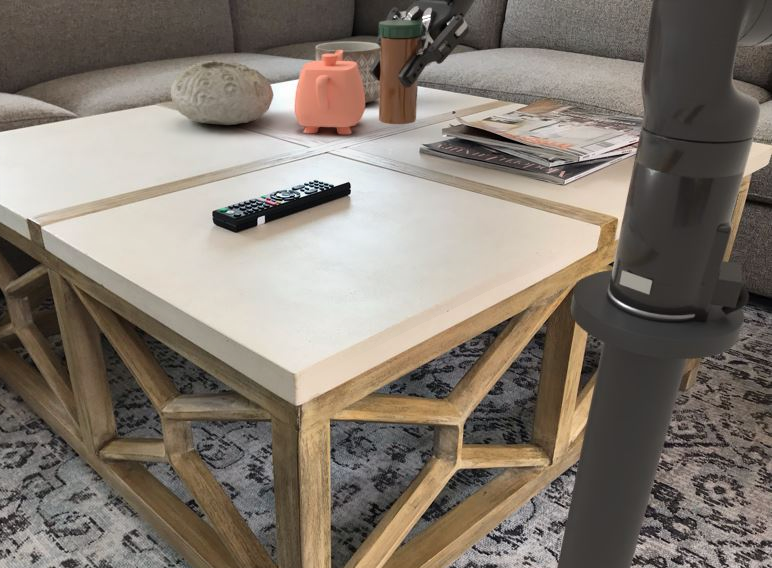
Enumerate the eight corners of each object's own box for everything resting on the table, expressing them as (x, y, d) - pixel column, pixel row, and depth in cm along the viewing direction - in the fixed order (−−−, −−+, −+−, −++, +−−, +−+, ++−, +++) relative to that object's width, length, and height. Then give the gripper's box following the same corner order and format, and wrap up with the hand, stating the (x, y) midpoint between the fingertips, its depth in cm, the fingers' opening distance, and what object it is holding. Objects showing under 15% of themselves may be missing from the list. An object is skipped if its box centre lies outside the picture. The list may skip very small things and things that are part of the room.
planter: (380, 95, 150) (381, 41, 145) (380, 109, 139) (381, 50, 134) (318, 95, 151) (317, 41, 146) (313, 108, 140) (312, 51, 135)
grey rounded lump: (284, 113, 137) (282, 56, 133) (260, 136, 122) (256, 73, 117) (193, 110, 140) (188, 54, 136) (158, 133, 125) (151, 71, 120)
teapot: (357, 142, 118) (358, 64, 112) (285, 140, 120) (282, 62, 114) (371, 115, 135) (372, 45, 129) (307, 113, 137) (306, 44, 131)
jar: (420, 117, 104) (425, 24, 98) (409, 125, 100) (413, 29, 94) (386, 114, 106) (388, 23, 100) (373, 122, 102) (375, 28, 96)
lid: (427, 32, 99) (428, 20, 98) (414, 38, 94) (414, 26, 94) (387, 30, 101) (387, 19, 100) (372, 36, 96) (372, 24, 96)
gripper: (407, -46, 102) (340, 55, 102) (486, -44, 92) (411, 69, 92) (433, -7, 107) (369, 89, 107) (509, 0, 97) (439, 106, 97)
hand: (389, 79), depth 100 cm, fingers closed on jar, 5 cm apart
